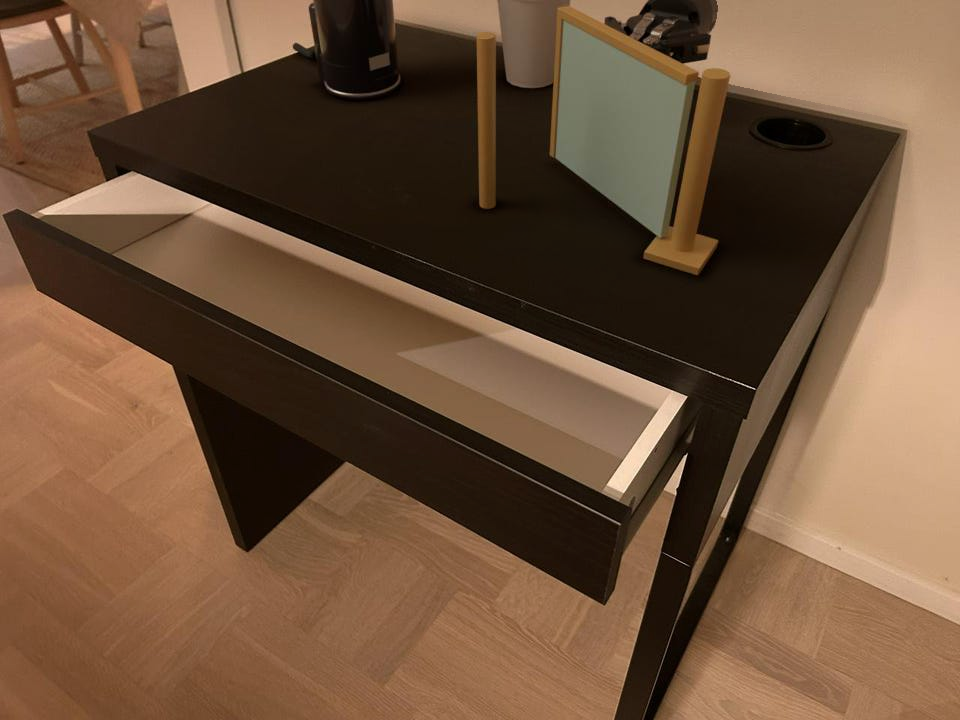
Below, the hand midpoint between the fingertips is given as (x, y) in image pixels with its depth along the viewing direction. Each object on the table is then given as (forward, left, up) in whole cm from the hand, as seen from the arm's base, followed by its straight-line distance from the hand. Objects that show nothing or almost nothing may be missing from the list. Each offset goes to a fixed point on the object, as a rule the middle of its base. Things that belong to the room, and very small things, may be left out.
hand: (623, 64), depth 78 cm
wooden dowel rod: (-3, -20, -8) cm, 22 cm away
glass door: (+6, -13, -7) cm, 16 cm away
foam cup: (-17, +8, -8) cm, 20 cm away
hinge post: (+16, -17, -8) cm, 24 cm away
